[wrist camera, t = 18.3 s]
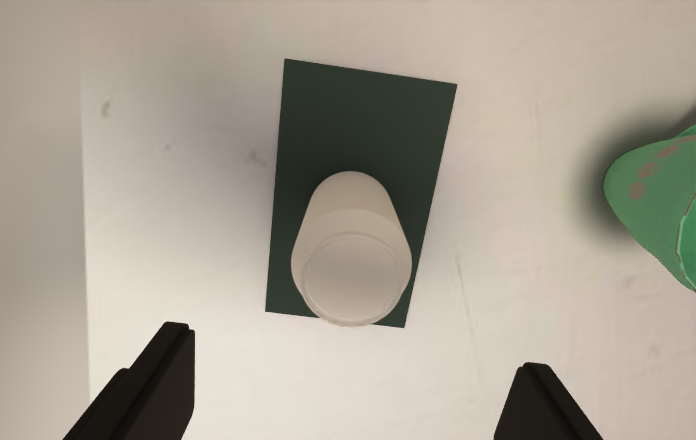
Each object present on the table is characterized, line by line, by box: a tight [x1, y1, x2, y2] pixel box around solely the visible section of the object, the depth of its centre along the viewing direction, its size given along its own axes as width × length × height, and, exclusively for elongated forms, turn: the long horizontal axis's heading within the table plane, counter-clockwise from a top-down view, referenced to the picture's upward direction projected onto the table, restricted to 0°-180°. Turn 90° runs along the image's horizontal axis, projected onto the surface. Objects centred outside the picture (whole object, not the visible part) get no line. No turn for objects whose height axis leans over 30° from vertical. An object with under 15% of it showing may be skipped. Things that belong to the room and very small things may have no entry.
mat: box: [265, 59, 457, 328], centre depth 29 cm, size 20×12×1 cm, turn 172°
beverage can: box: [291, 171, 412, 327], centre depth 23 cm, size 6×6×12 cm
